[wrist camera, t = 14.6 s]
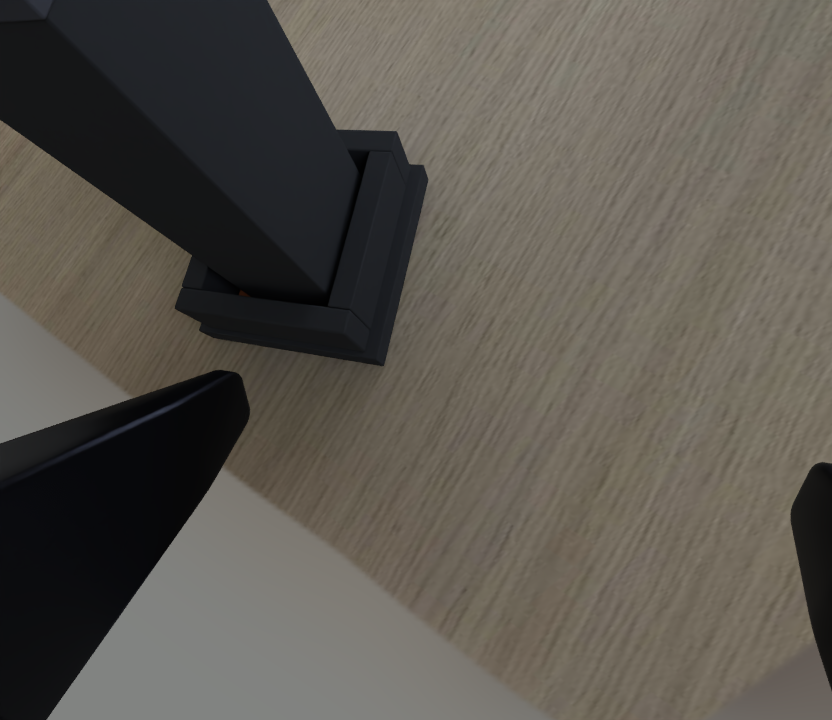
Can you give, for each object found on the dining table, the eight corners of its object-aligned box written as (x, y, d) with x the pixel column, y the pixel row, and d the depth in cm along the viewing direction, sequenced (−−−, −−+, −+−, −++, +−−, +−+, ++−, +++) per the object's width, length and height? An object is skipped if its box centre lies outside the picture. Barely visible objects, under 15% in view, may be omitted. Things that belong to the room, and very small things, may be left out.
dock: (384, 366, 19) (356, 342, 16) (213, 337, 21) (160, 311, 18) (428, 179, 21) (411, 125, 18) (266, 170, 23) (227, 121, 20)
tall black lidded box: (345, 312, 19) (-103, -125, 5) (252, 301, 20) (-304, -87, 7) (374, 195, 20) (61, -400, 7) (285, 191, 21) (-135, -329, 8)
